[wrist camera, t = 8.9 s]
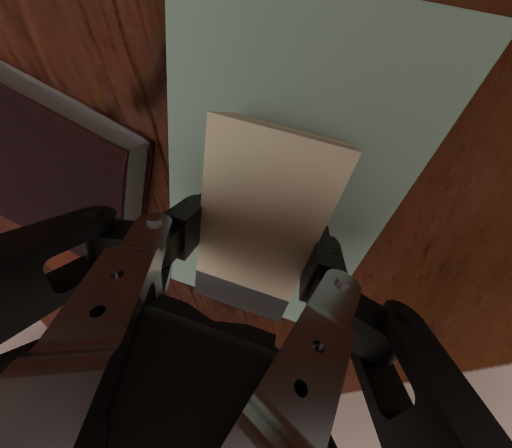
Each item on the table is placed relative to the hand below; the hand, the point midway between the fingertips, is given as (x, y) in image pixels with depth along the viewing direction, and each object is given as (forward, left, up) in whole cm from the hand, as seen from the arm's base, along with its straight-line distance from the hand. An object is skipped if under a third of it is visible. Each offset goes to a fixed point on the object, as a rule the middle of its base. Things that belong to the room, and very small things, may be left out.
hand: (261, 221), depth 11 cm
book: (-19, -2, -3) cm, 19 cm away
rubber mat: (0, 0, -2) cm, 2 cm away
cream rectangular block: (0, 0, -1) cm, 1 cm away
